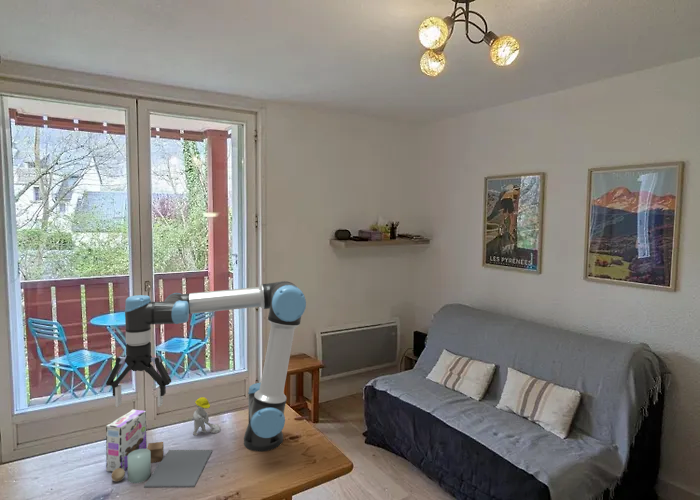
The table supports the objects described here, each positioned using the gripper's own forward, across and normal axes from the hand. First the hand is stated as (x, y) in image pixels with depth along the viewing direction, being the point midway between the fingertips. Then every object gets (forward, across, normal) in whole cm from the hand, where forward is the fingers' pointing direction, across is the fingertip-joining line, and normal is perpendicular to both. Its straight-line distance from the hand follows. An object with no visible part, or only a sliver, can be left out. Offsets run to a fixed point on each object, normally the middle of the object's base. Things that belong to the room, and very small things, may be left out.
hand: (139, 405), depth 146 cm
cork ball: (+25, +6, +2) cm, 25 cm away
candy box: (+25, +8, -8) cm, 27 cm away
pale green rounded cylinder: (+25, 0, 0) cm, 25 cm away
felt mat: (+25, -12, -4) cm, 28 cm away
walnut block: (+25, -1, -10) cm, 27 cm away
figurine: (+25, -14, -29) cm, 41 cm away
